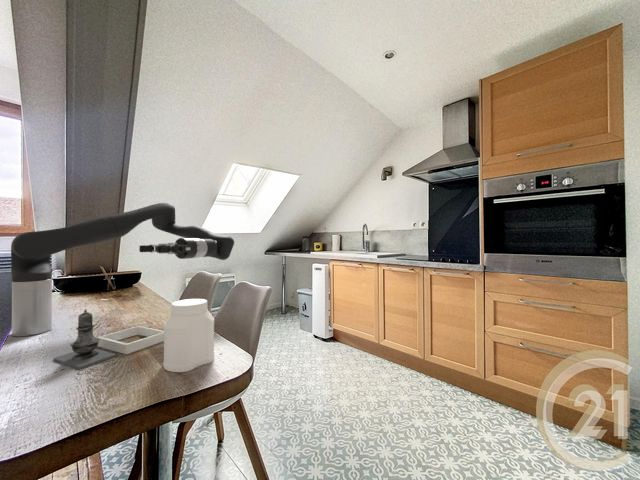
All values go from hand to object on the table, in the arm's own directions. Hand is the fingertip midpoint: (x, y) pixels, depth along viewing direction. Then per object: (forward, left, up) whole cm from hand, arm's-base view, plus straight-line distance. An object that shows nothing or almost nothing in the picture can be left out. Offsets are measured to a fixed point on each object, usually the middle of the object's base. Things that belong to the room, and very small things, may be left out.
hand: (148, 249), depth 89 cm
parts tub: (+2, -6, -28) cm, 28 cm away
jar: (+28, -8, -28) cm, 40 cm away
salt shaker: (+2, -18, -27) cm, 33 cm away
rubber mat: (+2, -18, -28) cm, 33 cm away
